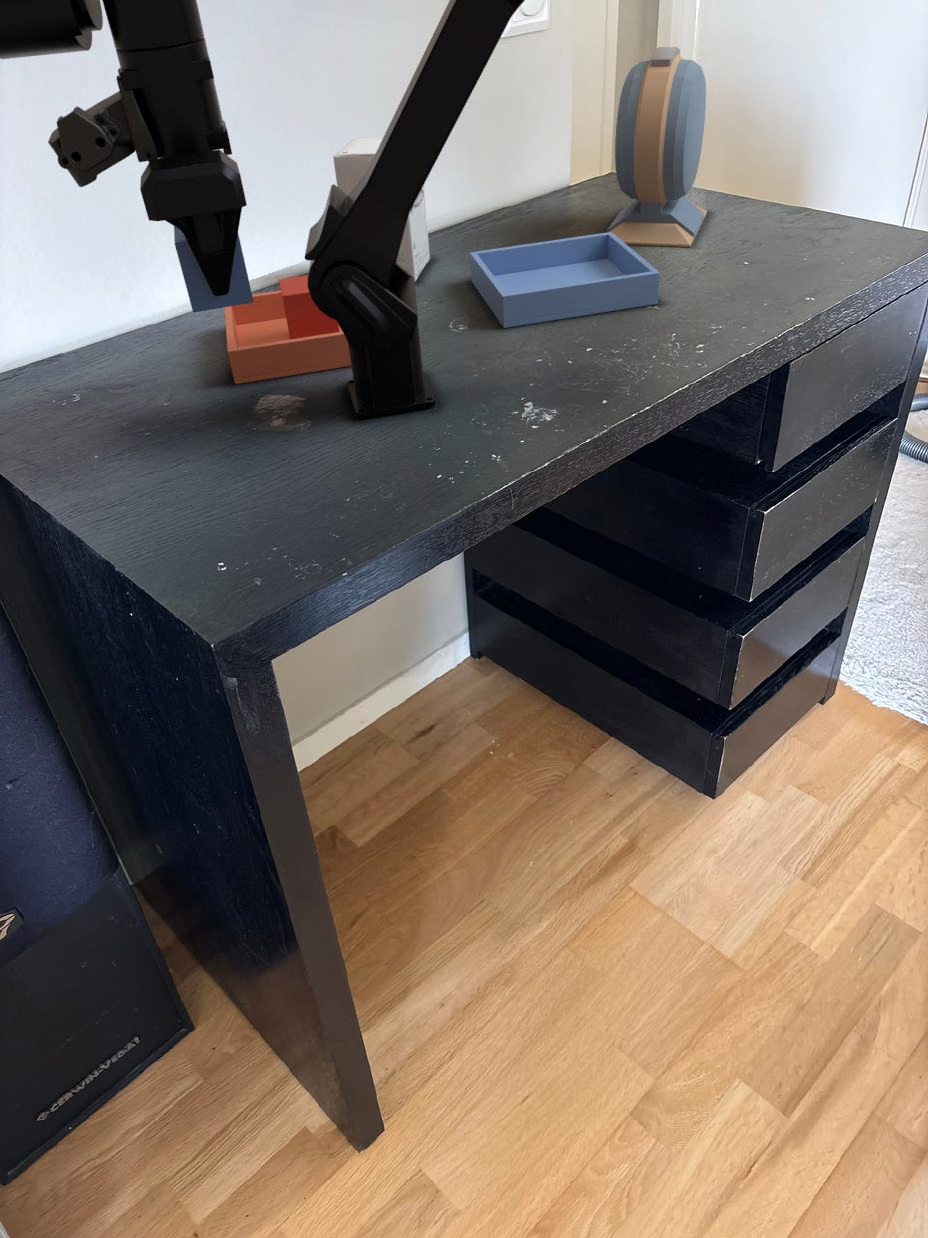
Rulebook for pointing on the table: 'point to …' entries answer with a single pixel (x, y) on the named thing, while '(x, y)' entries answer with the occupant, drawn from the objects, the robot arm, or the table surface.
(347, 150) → the white packaging box
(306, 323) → the red block
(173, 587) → the table surface
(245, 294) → the blue block
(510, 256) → the blue tray
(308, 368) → the red tray
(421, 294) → the table surface
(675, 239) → the blue rounded upright piece
